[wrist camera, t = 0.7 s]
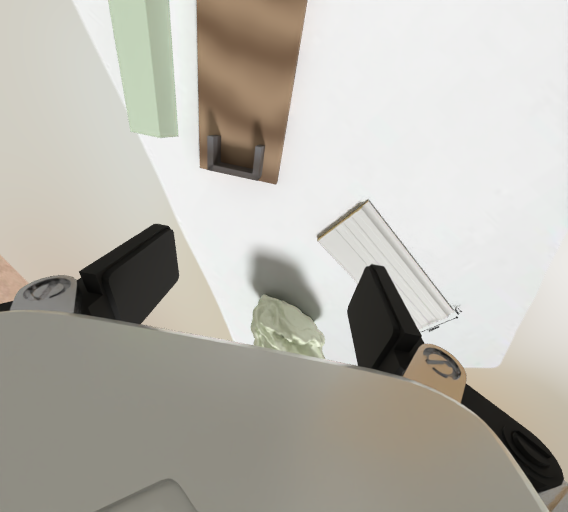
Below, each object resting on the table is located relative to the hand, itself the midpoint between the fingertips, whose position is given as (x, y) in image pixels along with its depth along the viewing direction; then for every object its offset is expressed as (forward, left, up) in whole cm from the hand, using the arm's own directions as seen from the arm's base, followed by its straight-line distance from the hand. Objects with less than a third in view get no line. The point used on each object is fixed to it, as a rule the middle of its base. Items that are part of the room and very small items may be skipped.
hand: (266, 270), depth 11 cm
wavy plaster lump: (+31, +5, -27) cm, 41 cm away
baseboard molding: (+15, +22, -28) cm, 39 cm away
